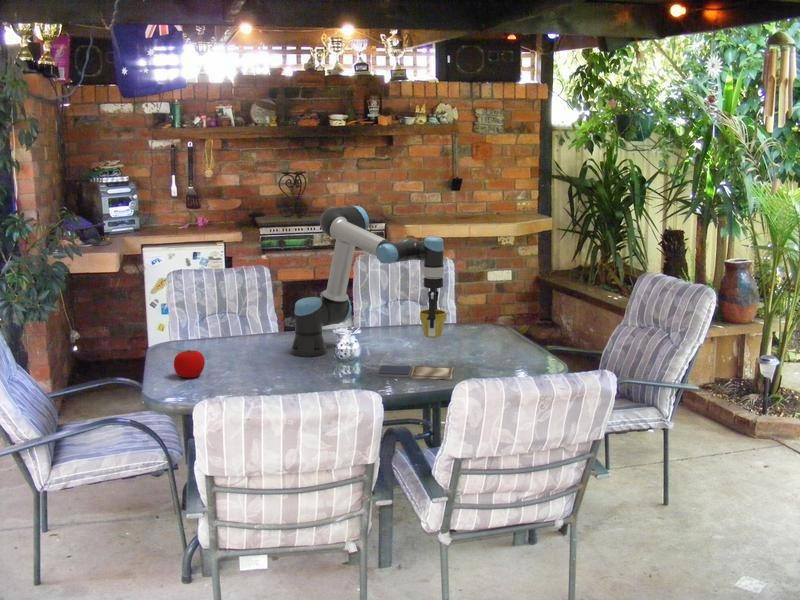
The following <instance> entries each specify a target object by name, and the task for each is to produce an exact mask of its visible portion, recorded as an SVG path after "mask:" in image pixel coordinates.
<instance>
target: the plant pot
mask: <svg viewBox="0 0 800 600" xmlns="http://www.w3.org/2000/svg"><path fill="white" fill-rule="evenodd" d="M428 317H429V308H427V309H422V310H420V311H419V320H420V322H421V325H422V329H423V335H424V337H426V338H433V339H436V338H440V337H442V334H443V331H444V327H445V322H446V321H447V311H445V310H443V309H438V308H437V309H436V311H435V319H436V327H435V336H428V321H429V320H427V318H428Z"/></svg>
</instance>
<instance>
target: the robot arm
mask: <svg viewBox="0 0 800 600" xmlns="http://www.w3.org/2000/svg"><path fill="white" fill-rule="evenodd" d="M369 225H370V219H369V216H368V214H367V211H366V210H365V209H364V208H363V207H362V206H359V205H348V206H339V207H338V206H336V207H330V208H328V209H325V211H323V213H322V214H321V216H320V220H319V226H320V229H321V231H322V232H323V233H324V234H325V235H327V236H328V237H329V238H332V239H333V240H335V243H334V248H333V255H332V259H331V265H330V270H329V271H330V272H329V275H328V281H327V286H326V289H324V291H322V294H321V297H318V296H317V297H316V296H311V297H303V298H301V299H298V300H297V301H296V302H295V304H294V327H295V328H294V331H295V332H294V338H293V341H292V345H291V348H290V353H291V354H292V355H294V356H297V357H307V358H308V357H309V358H310V357H312V358H313V357H318V356H319V357H320V356H323V355H326V354H327V345H326V342H325V339H324V336H323V327H327V326H330V325H332V326H333V325H339V324H342V323H345V322H346V321H348V320H349V318H350V317H351V314H352V312H353V311H352V310H353V308H352V305H351V304H352V302H351V300H350V299H349V294H347V290H348V285H349V280H350V273H351V270H352V264H353V259H354V256H355V255H354V254H355V249H356V247H357V248H359V249H360V250H363V251H365V252H367V253H369V254H371V255H373V256H375V257H376V258H377V260H378V261H379V263H381V264H384V265H385V264H387V265H389V264H394V263H400V262H408V261H414V260H415V261H422V262H423V277H424V278H423V288H425V289H426V288H427V289H429V290H428V292H427V297H428V298H427V299H428V300H427V302H428V309H429V317H428V318H427V320H429V321H428V336H435V327H436V319H435V311H436V309H438V300H439V291H438V289H442V288H443V287H444V278H443V277H444V272H445V271H446V270H445V268H444V253H445V252H444V251H445V248H444V245H445V244H444V239H443V238H442V237H437V236H436V237H435V236H429V237H425V238H424V241H421V240H416V239H405V240H403V241H398V242H394V241H393V242H392V241H390V240H388V239H386V238H384V237H382V236H380V235H378V234H375V233H373V232H371V231H368V229H369Z"/></svg>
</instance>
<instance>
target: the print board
mask: <svg viewBox="0 0 800 600" xmlns="http://www.w3.org/2000/svg"><path fill="white" fill-rule="evenodd" d="M453 373H454V366H433V365H432V366H430V365H429V366H428V365H414V366H412V371H411V375H410V379H413V380H436V379H445V380H444V381H452V380H453Z"/></svg>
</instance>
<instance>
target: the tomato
mask: <svg viewBox="0 0 800 600" xmlns="http://www.w3.org/2000/svg"><path fill="white" fill-rule="evenodd" d="M205 364H206V361H205V357H204V354H202V353H201V351H198V350H185V351H180V352H178V353H177V354H176V355H175V357H174V360H173V369H174V371H175V374H176V375H178V376H179V377H182V378H189V379H190V378H196V377H199V376H200V375H201V374H202V372H203V371H204V369H205V366H206V365H205Z"/></svg>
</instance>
